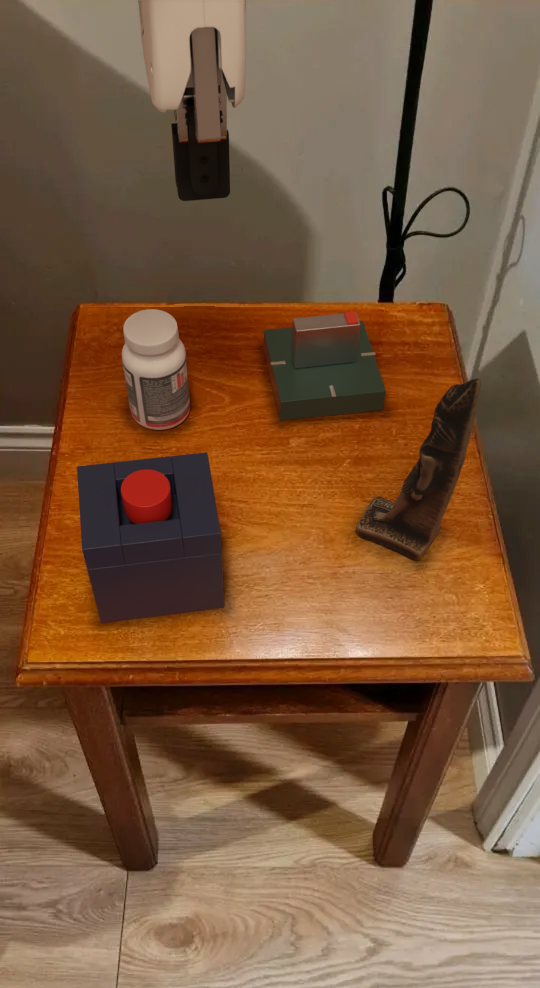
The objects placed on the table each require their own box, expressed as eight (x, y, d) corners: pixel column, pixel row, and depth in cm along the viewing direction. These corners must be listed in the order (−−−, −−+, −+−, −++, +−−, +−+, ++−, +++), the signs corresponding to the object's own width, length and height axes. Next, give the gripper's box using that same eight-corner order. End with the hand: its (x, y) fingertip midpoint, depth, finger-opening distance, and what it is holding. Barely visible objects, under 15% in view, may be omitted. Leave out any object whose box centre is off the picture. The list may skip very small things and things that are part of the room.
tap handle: (294, 368, 86) (296, 328, 82) (290, 356, 87) (292, 315, 83) (356, 362, 87) (361, 322, 83) (351, 349, 88) (356, 309, 84)
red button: (126, 529, 67) (122, 509, 65) (122, 492, 69) (119, 471, 67) (174, 523, 67) (172, 503, 66) (169, 486, 69) (167, 466, 67)
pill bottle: (201, 400, 87) (196, 316, 79) (172, 440, 84) (164, 357, 76) (148, 382, 88) (138, 297, 80) (119, 420, 85) (104, 336, 77)
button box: (101, 623, 73) (81, 549, 65) (95, 544, 77) (76, 465, 69) (224, 607, 74) (221, 533, 66) (211, 530, 78) (207, 451, 70)
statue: (372, 504, 80) (405, 323, 64) (447, 535, 79) (500, 357, 62) (352, 537, 78) (380, 359, 62) (428, 570, 77) (478, 395, 60)
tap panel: (279, 422, 86) (279, 401, 83) (262, 349, 91) (262, 327, 89) (384, 410, 87) (387, 390, 84) (361, 339, 92) (363, 318, 90)
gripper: (92, -236, 45) (132, 130, 60) (112, -113, 37) (153, 273, 52) (243, -241, 45) (245, 122, 61) (295, -121, 37) (282, 262, 53)
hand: (202, 191), depth 56 cm, fingers closed
